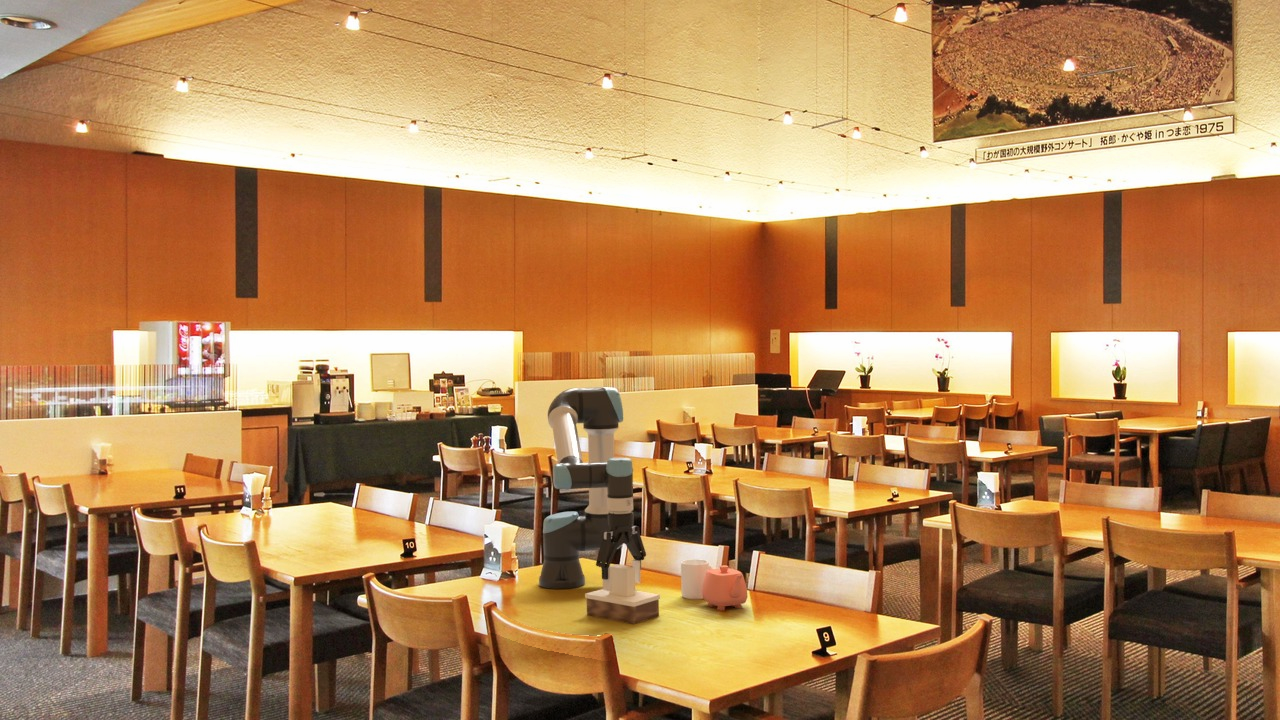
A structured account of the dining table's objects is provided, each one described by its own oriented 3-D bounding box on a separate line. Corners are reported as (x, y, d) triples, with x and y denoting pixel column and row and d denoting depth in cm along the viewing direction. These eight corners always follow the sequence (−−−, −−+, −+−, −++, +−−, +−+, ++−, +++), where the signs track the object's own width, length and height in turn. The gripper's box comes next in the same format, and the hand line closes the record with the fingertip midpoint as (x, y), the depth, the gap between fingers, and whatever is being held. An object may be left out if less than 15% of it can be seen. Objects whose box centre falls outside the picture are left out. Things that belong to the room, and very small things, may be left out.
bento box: (586, 615, 309) (586, 597, 309) (612, 607, 317) (611, 590, 317) (634, 624, 297) (633, 606, 297) (658, 616, 306) (658, 598, 306)
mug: (723, 595, 331) (722, 560, 331) (693, 601, 324) (692, 565, 324) (706, 590, 338) (705, 556, 338) (676, 596, 331) (675, 561, 331)
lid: (585, 603, 309) (584, 566, 309) (611, 595, 318) (611, 559, 318) (633, 612, 297) (633, 573, 297) (660, 604, 306) (659, 566, 306)
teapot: (692, 602, 322) (691, 562, 322) (726, 597, 327) (725, 558, 327) (725, 616, 304) (724, 574, 304) (761, 611, 309) (760, 570, 309)
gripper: (602, 518, 296) (603, 595, 296) (657, 507, 314) (658, 580, 314) (582, 516, 300) (583, 592, 301) (637, 505, 319) (639, 577, 319)
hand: (622, 586), depth 307 cm, fingers open, 12 cm apart
